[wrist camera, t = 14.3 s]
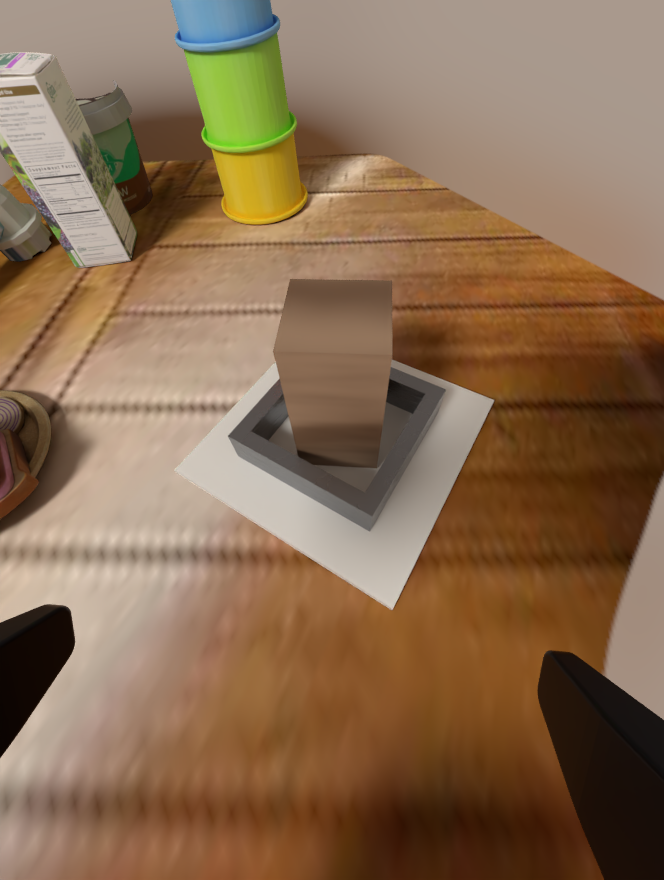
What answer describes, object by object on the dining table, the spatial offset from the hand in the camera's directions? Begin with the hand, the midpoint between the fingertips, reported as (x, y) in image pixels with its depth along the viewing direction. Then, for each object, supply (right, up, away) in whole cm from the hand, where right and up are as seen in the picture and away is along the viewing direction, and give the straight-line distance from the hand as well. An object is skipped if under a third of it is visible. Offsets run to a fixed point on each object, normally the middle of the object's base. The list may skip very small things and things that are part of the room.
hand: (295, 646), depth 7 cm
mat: (+1, +4, +19) cm, 19 cm away
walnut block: (+1, +4, +18) cm, 19 cm away
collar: (+1, +4, +19) cm, 19 cm away
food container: (-25, +32, +38) cm, 55 cm away
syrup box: (-23, +24, +33) cm, 47 cm away
